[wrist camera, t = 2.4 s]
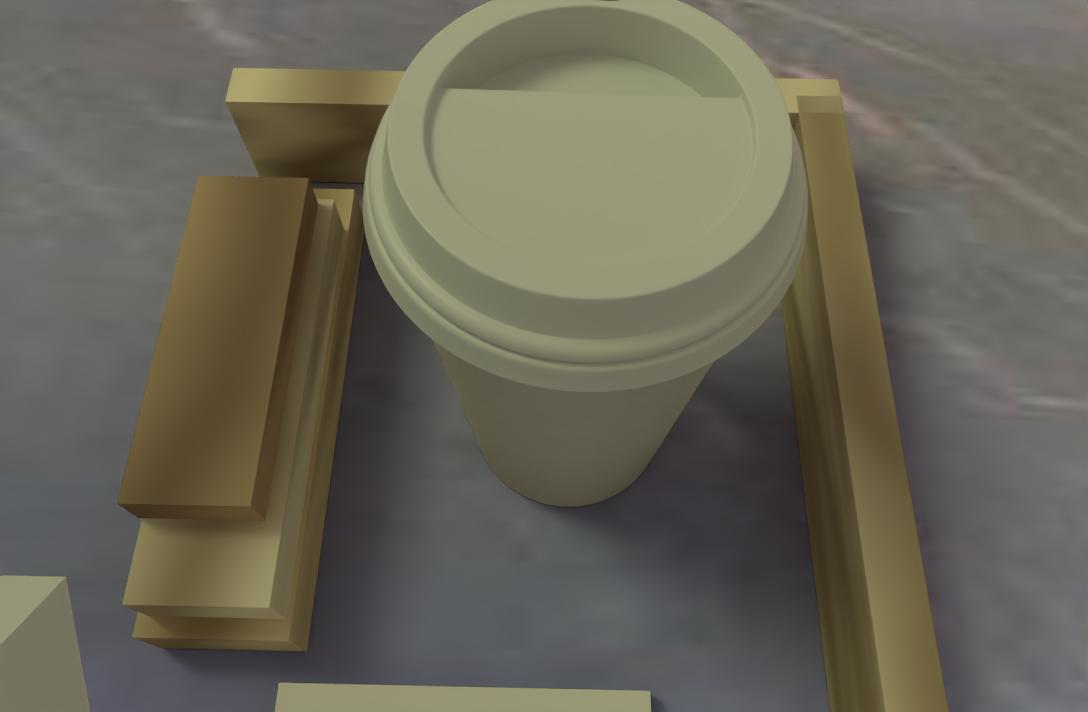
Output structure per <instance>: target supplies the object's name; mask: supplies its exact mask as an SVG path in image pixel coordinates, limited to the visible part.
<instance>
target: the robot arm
mask: <svg viewBox="0 0 1088 712" xmlns="http://www.w3.org/2000/svg"><path fill="white" fill-rule="evenodd" d="M0 712H90V707H89V701H88V696H87V690H86V685H85V679H84V674H83V668H82V663H81V657H80V652H79V646H78V641H77V635H76V630H75V624H74V619H73V613H72V608H71V602H70V597H69V591H68V586H67V580H66V577H52V576H10V575H2V576H0Z"/></svg>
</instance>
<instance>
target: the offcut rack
mask: <svg viewBox="0 0 1088 712" xmlns="http://www.w3.org/2000/svg"><path fill="white" fill-rule="evenodd" d="M405 72H406V71H363V70H310V69H258V68H233V72H232V76H231V80H230V85H229V89H228V93H227V97H226V101H225V102H226V104H227V106H228V108H229V111H230V113H231V115H232V117H233V119H234V121H235V124H236V126H237V128H238V130H239V132H240V134H241V137H242V139H243V141H244V143H245V145H246V148H247V150H248V152H249V154H250V156H251V158H252V161H253V163H254V165H255V167H256V169H257V171H258V174H259V176H260V177H285V178H309V181H310V182H348V183H364V182H365V173H366V167H367V162H368V157H369V153H370V150H371V146H372V143H373V140H374V138H375V135H376V133H377V130H378V127H379V125H380V122H381V120H382V118H383V116H384V114H385V112H386V110H387V108H388V106H389V104H390V103H391V101H392V99H393V98H394V95H395V93H396V90H397V88H398V85H399V83H400V81H401V79H402V77H403V76H404V74H405ZM774 79H775V81H776V83H777V85H778V87H779V89H780V91H781V93H782V96H783V98H784V101H785V103H786V106H787V109H788V113H789V117H790V121H791V125H792V127H793V130H794V132H795V135H796V137H797V140H798V143H799V146H800V150H801V154H802V158H803V163H804V167H805V172H806V178H807V187H808V221H807V232H806V239H805V245H804V249H803V253H802V257H801V260H800V263H799V266H798V269H797V271H796V274H795V276H794V278H793V280H792V282H791V284H790V286H789V288H788V290H787V292H786V293H785V295H784V297H783V298H782V309H783V317H784V326H785V334H786V343H787V351H788V359H789V368H790V376H791V385H792V393H793V402H794V410H795V419H796V427H797V436H798V444H799V453H800V461H801V470H802V478H803V486H804V495H805V503H806V512H807V520H808V529H809V537H810V546H811V554H812V563H813V571H814V580H815V588H816V596H817V605H818V613H819V622H820V630H821V639H822V647H823V656H824V664H825V673H826V681H827V690H828V698H829V707H830V712H949V711H948V706H947V700H946V694H945V689H944V683H943V677H942V671H941V666H940V660H939V654H938V649H937V643H936V637H935V631H934V626H933V620H932V614H931V608H930V603H929V597H928V591H927V586H926V580H925V574H924V568H923V563H922V557H921V551H920V546H919V540H918V534H917V528H916V523H915V517H914V511H913V506H912V500H911V494H910V488H909V483H908V477H907V471H906V465H905V460H904V454H903V448H902V443H901V437H900V431H899V425H898V420H897V414H896V408H895V403H894V397H893V391H892V385H891V380H890V374H889V368H888V363H887V357H886V351H885V345H884V340H883V334H882V328H881V322H880V317H879V311H878V305H877V300H876V294H875V288H874V282H873V277H872V271H871V265H870V260H869V254H868V248H867V242H866V237H865V231H864V225H863V220H862V214H861V208H860V202H859V197H858V191H857V185H856V179H855V174H854V168H853V162H852V157H851V151H850V145H849V139H848V134H847V128H846V122H845V117H844V111H843V105H842V99H841V94H840V88H839V82H838V80H833V79H781V78H774Z"/></svg>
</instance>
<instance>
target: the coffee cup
mask: <svg viewBox="0 0 1088 712" xmlns="http://www.w3.org/2000/svg"><path fill="white" fill-rule="evenodd" d="M363 221H364V229H365V234H366V239H367V243H368V247H369V250H370V254H371V257H372V259H373V262H374V265H375V267H376V269H377V271H378V273H379V276H380V278H381V279H382V281H383V283H384V285H385V287H386V288H387V290H388V291H389V293H390V294H391V296H392V297H393V299H394V300H395V302H396V303H397V304H398V306H399V307H400V308H401V309H402V310H403V312H404V313H405V314H406V315H407V316H408V317H409V318H410V319H411V321H412V322H413V323H414V324H415V325H416V326H418V327H419V328H420V329H421V330H422V331H423V332H424V333H425V334H426V335H428V336H429V337H430V338H431V339H432V340H433V342H434V345H435V347H436V349H437V351H438V354H439V356H440V358H441V360H442V363H443V365H444V367H445V369H446V372H447V374H448V376H449V378H450V381H451V383H452V385H453V388H454V390H455V392H456V394H457V397H458V399H459V401H460V404H461V406H462V408H463V410H464V413H465V415H466V417H467V420H468V422H469V424H470V427H471V429H472V431H473V433H474V436H475V438H476V440H477V443H478V445H479V447H480V449H481V452H482V454H483V456H484V458H485V460H486V461H487V463H488V464H489V466H490V467H491V469H492V470H493V471H494V473H495V474H496V475H497V476H498V477H499V478H500V479H501V480H502V481H503V482H504V483H505V484H506V485H508V486H509V487H510V488H511V489H513V490H514V491H516V492H517V493H519V494H521V495H523V496H525V497H527V498H529V499H531V500H534V501H537V502H540V503H543V504H547V505H552V506H560V507H577V506H585V505H590V504H594V503H598V502H601V501H604V500H606V499H609V498H611V497H613V496H615V495H616V494H618V493H620V492H621V491H623V490H624V489H626V488H627V487H628V486H630V485H631V484H632V483H633V482H634V481H635V480H636V479H637V478H638V477H639V476H640V475H641V474H642V472H643V471H644V470H645V468H646V467H647V465H648V464H649V462H650V461H651V459H652V458H653V456H654V455H655V453H656V451H657V450H658V448H659V447H660V445H661V444H662V442H663V440H664V439H665V437H666V436H667V434H668V433H669V431H670V429H671V428H672V426H673V425H674V423H675V422H676V420H677V418H678V417H679V415H680V414H681V412H682V411H683V409H684V408H685V406H686V404H687V403H688V401H689V400H690V398H691V397H692V395H693V393H694V392H695V390H696V389H697V387H698V386H699V384H700V383H701V381H702V379H703V378H704V376H705V375H706V373H707V372H708V370H709V369H710V367H711V366H712V364H713V362H714V361H715V360H717V359H718V358H720V357H722V356H723V355H725V354H727V353H728V352H730V351H731V350H732V349H734V348H735V347H737V346H738V345H739V344H741V343H742V342H743V341H744V340H746V339H747V338H748V337H749V336H750V335H751V334H753V333H754V332H755V331H756V330H757V329H758V328H759V327H760V326H761V325H762V324H763V323H764V322H765V320H766V319H767V318H768V317H769V316H770V315H771V313H772V312H773V311H774V310H775V308H776V307H777V306H778V304H779V303H780V301H781V300H782V298H783V297H784V295H785V293H786V292H787V290H788V288H789V286H790V284H791V282H792V280H793V278H794V276H795V274H796V271H797V269H798V266H799V263H800V260H801V257H802V253H803V249H804V245H805V239H806V232H807V221H808V187H807V178H806V172H805V167H804V163H803V158H802V154H801V150H800V146H799V143H798V140H797V137H796V135H795V132H794V130H793V127H792V125H791V121H790V117H789V113H788V109H787V106H786V103H785V101H784V98H783V96H782V93H781V91H780V89H779V87H778V85H777V83H776V81H775V79H774V78H773V76H772V75H771V73H770V72H769V70H768V69H767V67H766V66H765V64H764V63H763V62H762V61H761V59H760V58H759V57H758V56H757V55H756V53H755V52H754V51H753V50H752V49H751V48H750V47H749V46H748V45H747V44H746V43H745V42H744V41H743V40H742V39H740V38H739V37H738V36H737V35H736V34H735V33H733V32H732V31H731V30H730V29H728V28H727V27H725V26H724V25H723V24H721V23H720V22H718V21H717V20H715V19H714V18H712V17H710V16H708V15H707V14H705V13H703V12H701V11H699V10H697V9H695V8H693V7H691V6H689V5H687V4H685V3H682V2H680V1H678V0H493V1H490V2H488V3H486V4H484V5H481V6H479V7H477V8H475V9H473V10H472V11H470V12H468V13H466V14H464V15H463V16H461V17H460V18H458V19H457V20H455V21H454V22H452V23H451V24H449V25H448V26H447V27H445V28H444V29H443V30H442V31H440V32H439V33H438V34H437V35H436V36H435V37H434V38H432V39H431V40H430V41H429V42H428V43H427V44H426V45H425V47H424V48H423V49H422V50H421V51H420V52H419V53H418V55H417V56H416V57H415V59H414V60H413V61H412V63H411V64H410V66H409V67H408V69H407V70H406V72H405V74H404V76H403V77H402V79H401V81H400V83H399V85H398V88H397V90H396V93H395V95H394V98H393V99H392V101H391V103H390V104H389V106H388V108H387V110H386V112H385V114H384V116H383V118H382V120H381V122H380V125H379V127H378V130H377V133H376V135H375V138H374V140H373V143H372V146H371V150H370V153H369V157H368V162H367V167H366V173H365V182H364V191H363Z"/></svg>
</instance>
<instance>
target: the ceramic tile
mask: <svg viewBox="0 0 1088 712" xmlns="http://www.w3.org/2000/svg"><path fill="white" fill-rule="evenodd" d="M275 712H651V695H650V691H630V690H585V689H540V688H495V687H450V686H405V685H360V684H315V683H279V686H278V692H277V699H276V706H275Z"/></svg>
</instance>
